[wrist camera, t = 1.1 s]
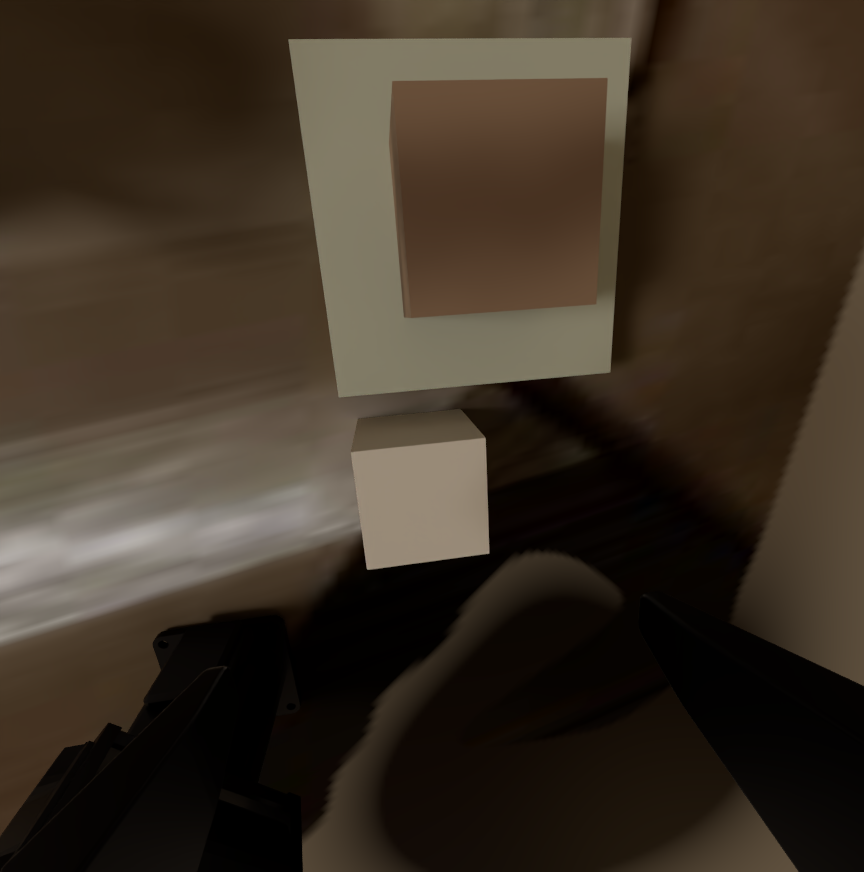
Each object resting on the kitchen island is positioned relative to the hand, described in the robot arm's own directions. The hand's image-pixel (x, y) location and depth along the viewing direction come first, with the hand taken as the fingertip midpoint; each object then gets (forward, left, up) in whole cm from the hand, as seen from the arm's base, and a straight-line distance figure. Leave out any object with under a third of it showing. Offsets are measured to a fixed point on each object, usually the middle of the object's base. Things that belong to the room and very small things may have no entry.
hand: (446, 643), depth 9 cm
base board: (+10, -3, -12) cm, 16 cm away
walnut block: (+10, -3, -10) cm, 14 cm away
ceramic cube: (0, 0, -12) cm, 12 cm away
